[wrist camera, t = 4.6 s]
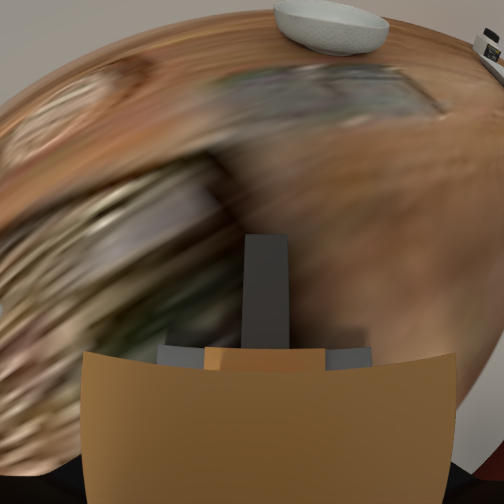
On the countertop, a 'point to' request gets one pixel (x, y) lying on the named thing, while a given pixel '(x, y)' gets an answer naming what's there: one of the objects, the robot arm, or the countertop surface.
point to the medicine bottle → (488, 45)
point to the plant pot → (492, 466)
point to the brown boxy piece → (266, 418)
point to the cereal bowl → (331, 26)
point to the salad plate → (493, 68)
